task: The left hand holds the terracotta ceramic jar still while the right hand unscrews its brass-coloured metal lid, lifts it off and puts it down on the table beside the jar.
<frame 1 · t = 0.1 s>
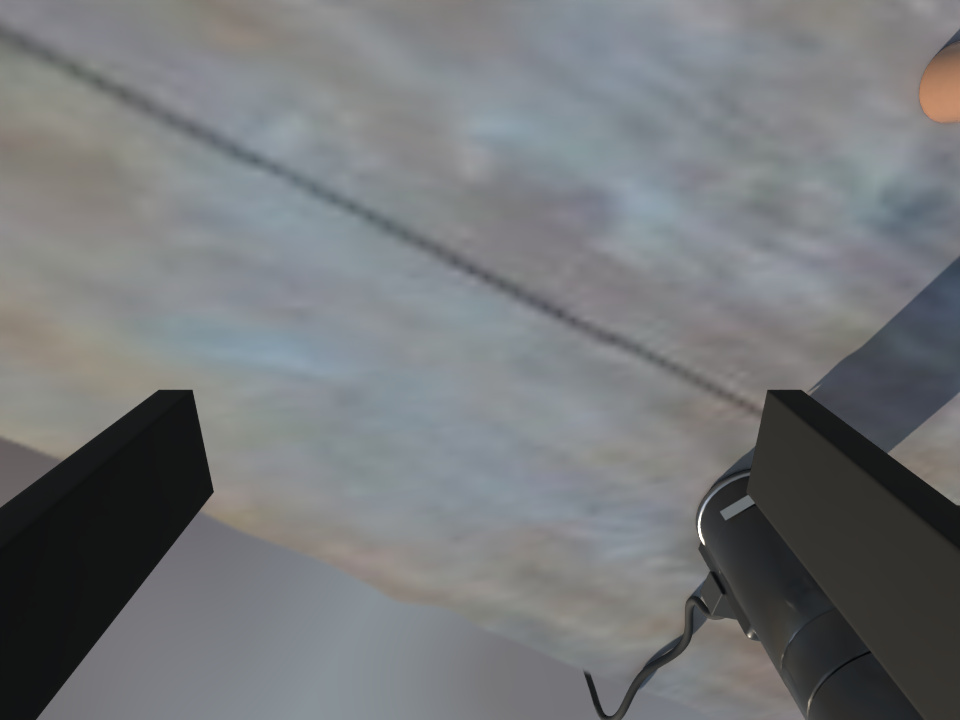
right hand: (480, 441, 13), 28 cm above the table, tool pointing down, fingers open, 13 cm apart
jar: (958, 82, 35), on the table
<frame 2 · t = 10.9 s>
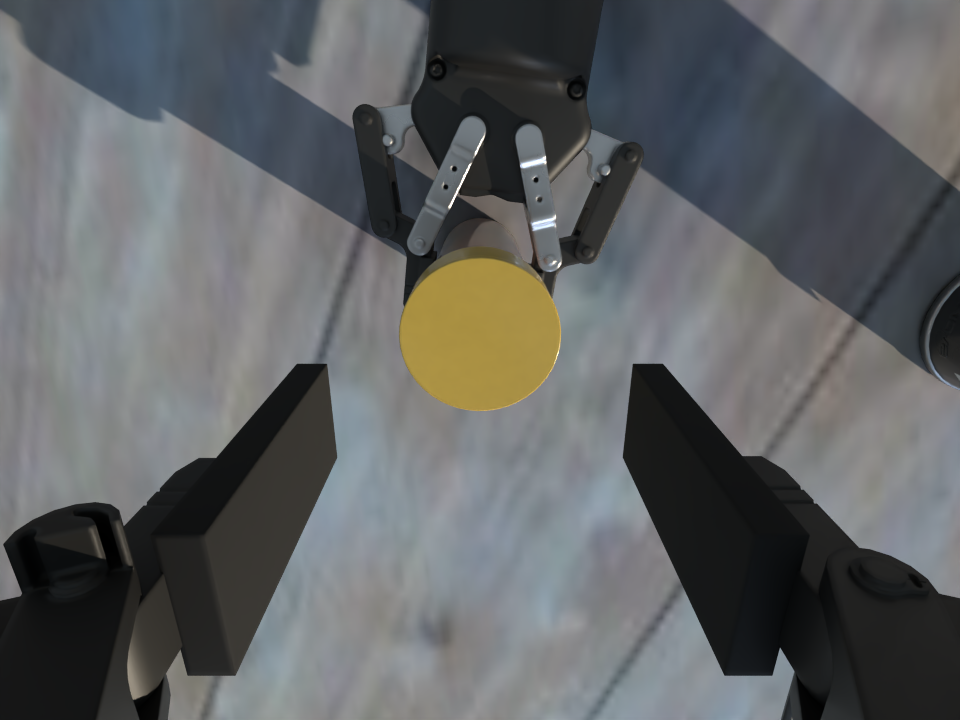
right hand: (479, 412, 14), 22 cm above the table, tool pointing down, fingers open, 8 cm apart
left hand: (474, 327, 29), fingers closed on jar, 5 cm apart
jar: (480, 257, 35), on the table, touching left hand
lid: (480, 335, 20), point 16 cm above the table, screwed on, not yet turned
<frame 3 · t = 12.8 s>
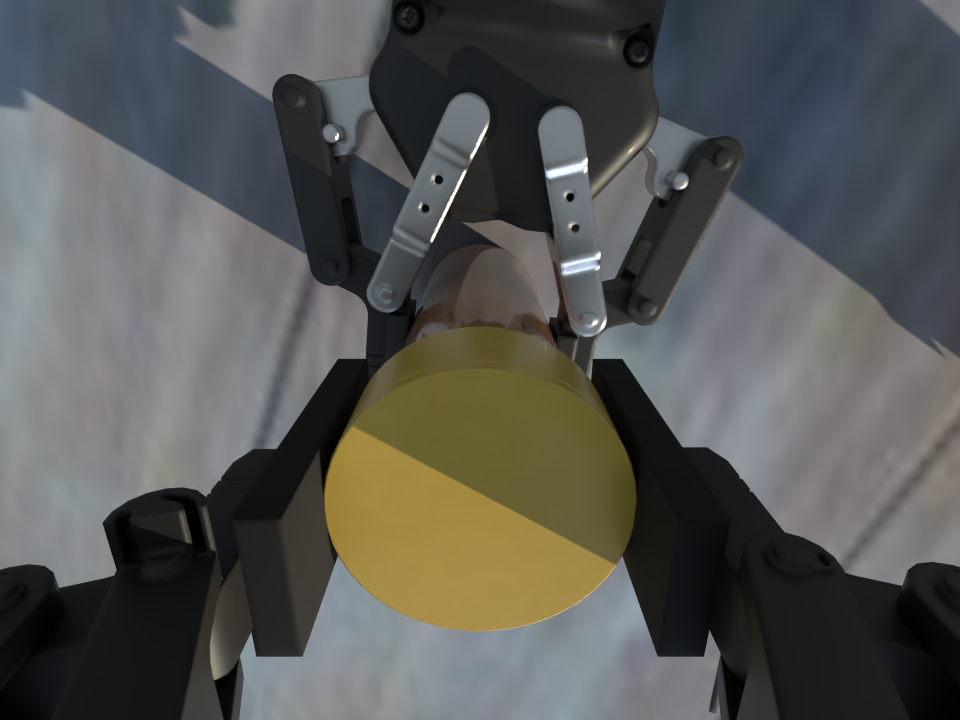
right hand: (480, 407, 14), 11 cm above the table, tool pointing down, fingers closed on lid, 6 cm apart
left hand: (471, 411, 20), fingers closed on jar, 5 cm apart
jar: (480, 297, 25), on the table, touching left hand
lid: (480, 502, 10), point 16 cm above the table, screwed on, not yet turned, touching right hand
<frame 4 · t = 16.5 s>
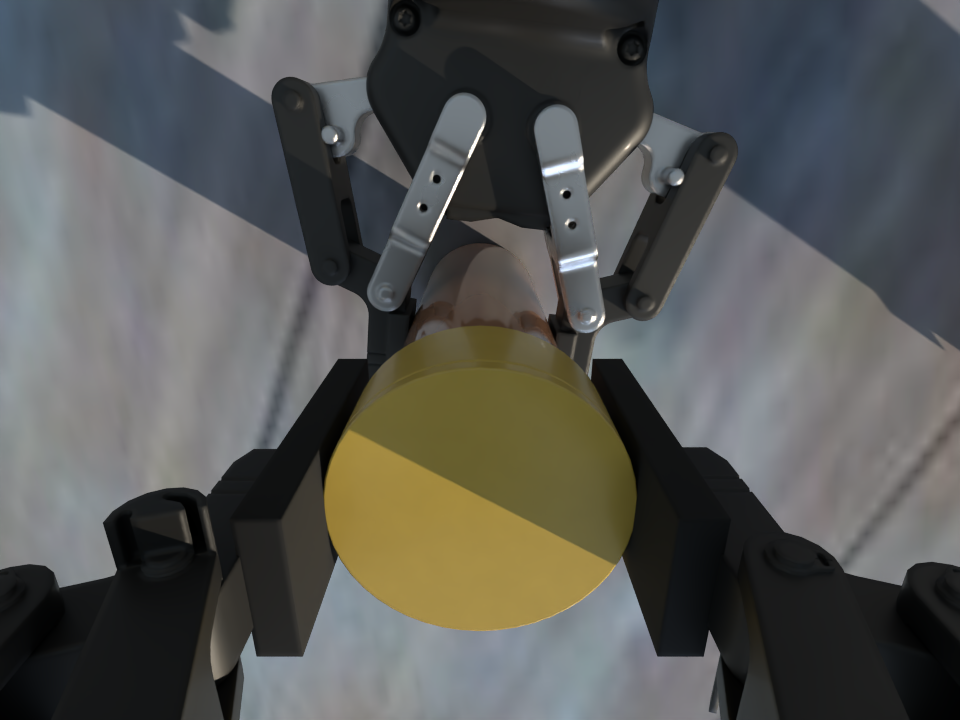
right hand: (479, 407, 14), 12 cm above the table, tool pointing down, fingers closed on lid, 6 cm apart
left hand: (472, 408, 20), fingers closed on jar, 5 cm apart
jar: (480, 296, 25), on the table, touching left hand
lid: (480, 502, 10), point 16 cm above the table, turned 135° so far, risen 0.2 cm, still on its thread, touching right hand
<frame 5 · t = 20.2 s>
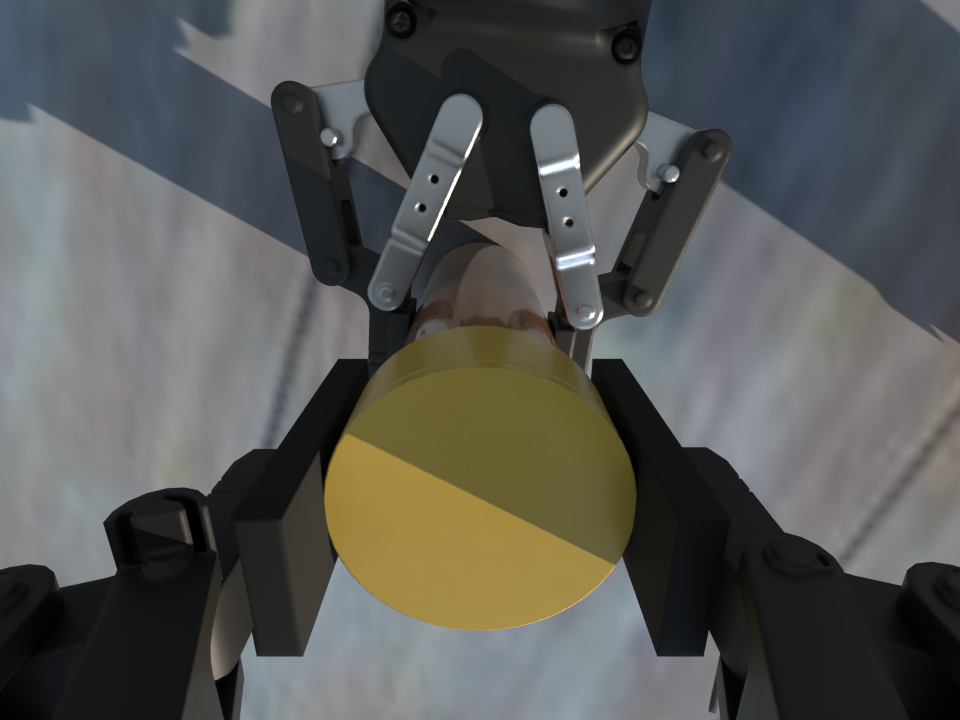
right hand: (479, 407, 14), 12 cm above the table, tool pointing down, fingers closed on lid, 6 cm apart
left hand: (473, 405, 20), fingers closed on jar, 5 cm apart
jar: (480, 295, 25), on the table, touching left hand
lid: (480, 502, 10), point 16 cm above the table, turned 271° so far, risen 0.4 cm, still on its thread, touching right hand
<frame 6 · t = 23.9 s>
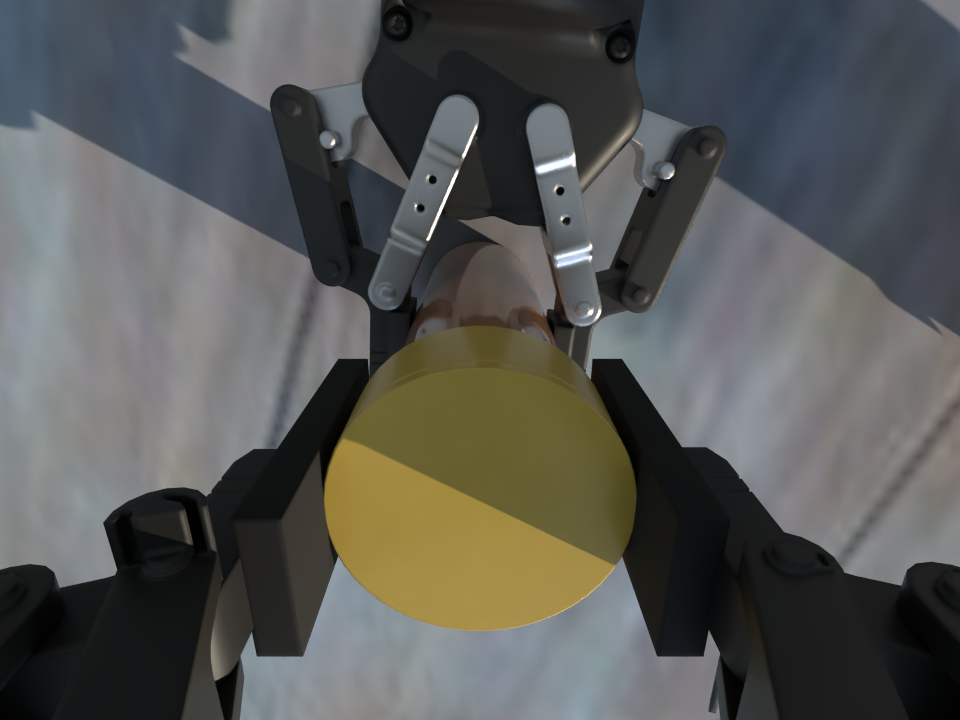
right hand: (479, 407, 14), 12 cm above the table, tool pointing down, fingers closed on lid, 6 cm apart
left hand: (474, 403, 21), fingers closed on jar, 5 cm apart
jar: (480, 293, 26), on the table, touching left hand
lid: (480, 502, 10), point 16 cm above the table, turned 406° so far, risen 0.6 cm, still on its thread, touching right hand
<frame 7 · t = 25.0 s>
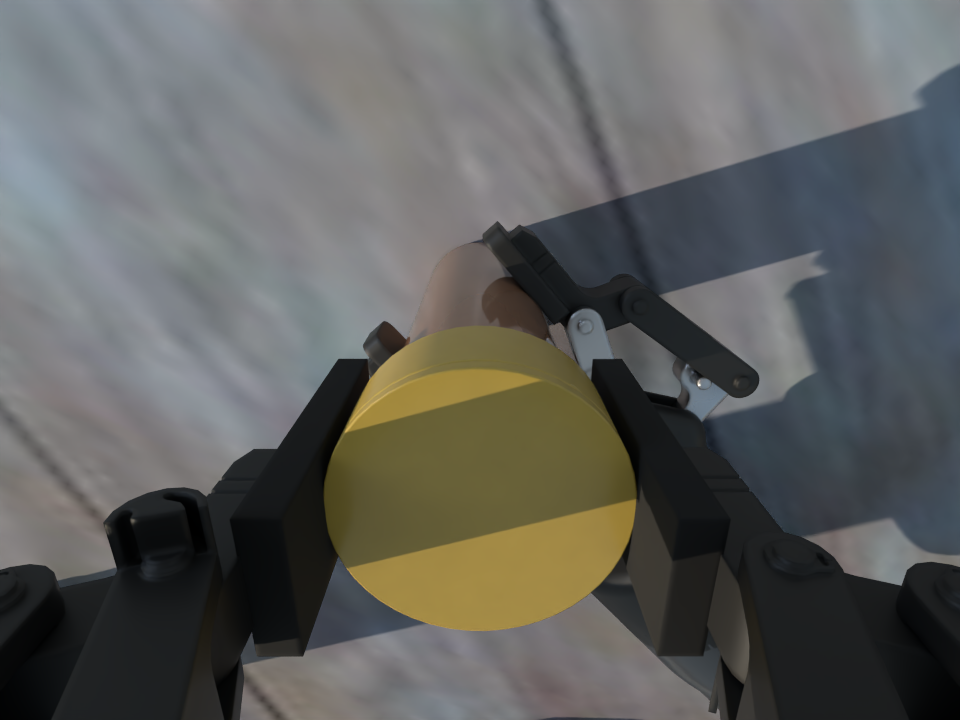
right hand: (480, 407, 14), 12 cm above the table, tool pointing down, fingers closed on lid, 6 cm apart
jar: (480, 294, 26), on the table, touching left hand
lid: (480, 502, 10), point 16 cm above the table, off its thread, touching right hand
when the right hand's fingers open (0 cm above the table, at t = 30.9 s): lid drops 2 cm, point 2 cm above the table.
when the left hand's fingers open (7 cm above the table, at t = 31.6 s): jar stays where it is, on the table.
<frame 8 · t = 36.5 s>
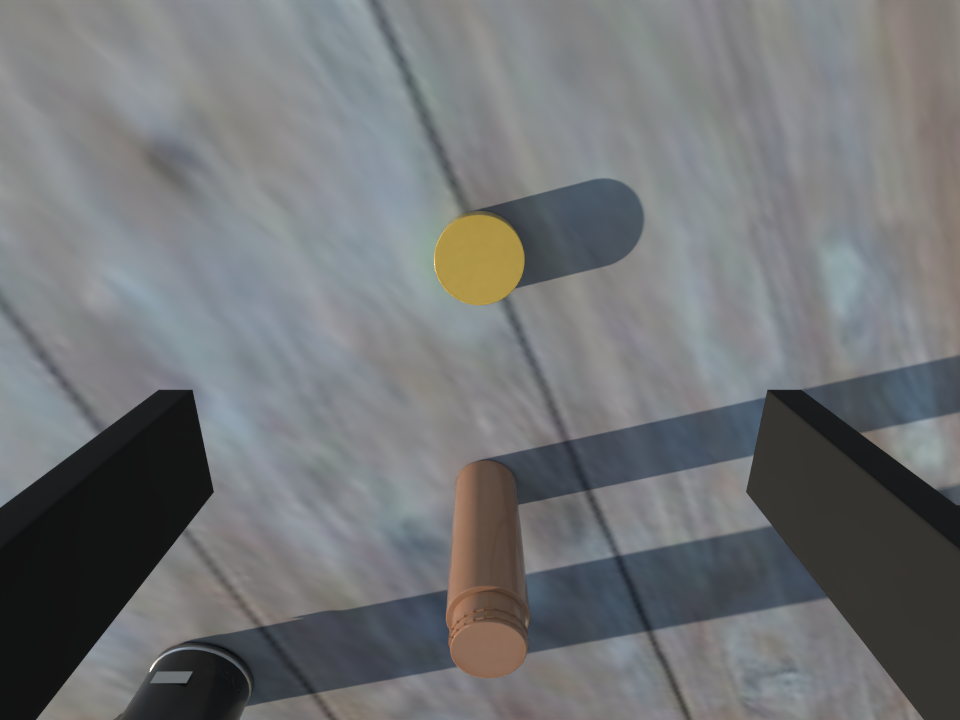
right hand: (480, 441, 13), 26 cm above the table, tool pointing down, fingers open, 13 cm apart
jar: (485, 486, 44), on the table
lid: (479, 260, 35), point 2 cm above the table, off its thread
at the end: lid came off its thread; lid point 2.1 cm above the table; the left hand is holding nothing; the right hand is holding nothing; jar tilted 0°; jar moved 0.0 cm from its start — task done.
